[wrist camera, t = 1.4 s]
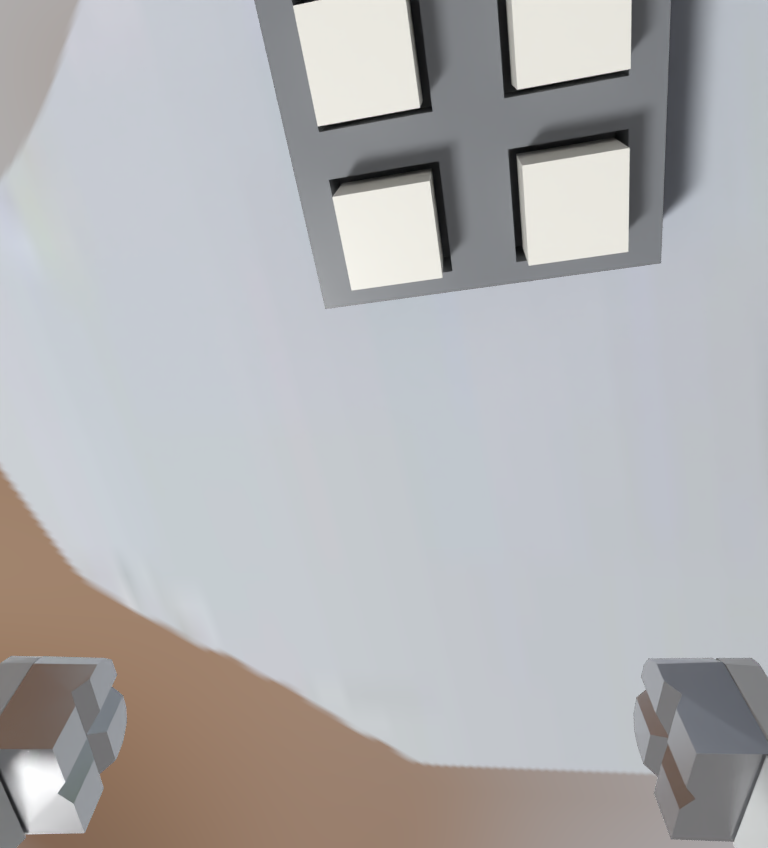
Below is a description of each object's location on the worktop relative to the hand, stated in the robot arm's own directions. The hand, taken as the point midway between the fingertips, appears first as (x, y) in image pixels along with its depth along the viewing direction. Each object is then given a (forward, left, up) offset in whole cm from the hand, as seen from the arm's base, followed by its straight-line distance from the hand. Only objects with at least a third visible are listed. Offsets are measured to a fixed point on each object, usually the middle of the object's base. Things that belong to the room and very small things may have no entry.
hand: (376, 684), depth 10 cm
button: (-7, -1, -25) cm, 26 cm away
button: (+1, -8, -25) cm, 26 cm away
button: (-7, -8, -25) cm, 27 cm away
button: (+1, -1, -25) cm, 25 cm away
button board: (-3, -5, -28) cm, 29 cm away
